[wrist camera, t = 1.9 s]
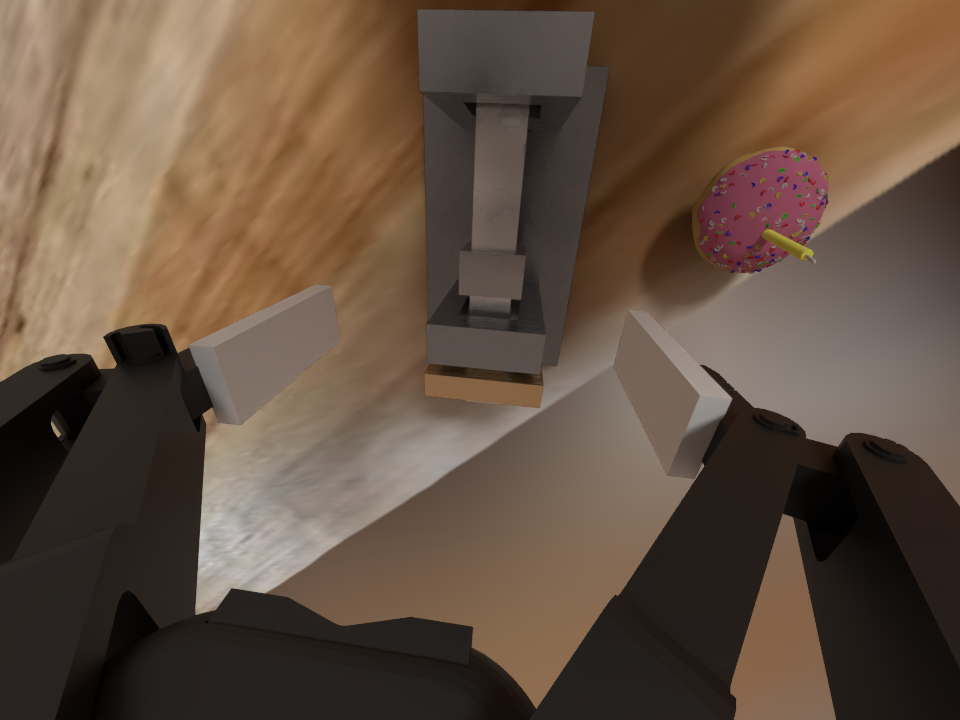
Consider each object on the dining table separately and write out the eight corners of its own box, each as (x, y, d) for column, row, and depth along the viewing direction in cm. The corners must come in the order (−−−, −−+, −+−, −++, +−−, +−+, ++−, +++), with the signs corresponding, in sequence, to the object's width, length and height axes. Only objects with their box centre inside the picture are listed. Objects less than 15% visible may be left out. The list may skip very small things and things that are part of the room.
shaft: (475, 47, 21) (464, 17, 17) (546, 49, 21) (551, 18, 17) (464, 378, 32) (456, 404, 28) (510, 383, 32) (508, 410, 28)
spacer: (448, 329, 34) (424, 373, 26) (539, 337, 33) (543, 386, 25) (448, 347, 35) (425, 395, 27) (536, 355, 34) (539, 408, 26)
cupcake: (752, 265, 31) (869, 307, 21) (657, 255, 32) (723, 291, 21) (802, 156, 27) (979, 139, 16) (692, 147, 28) (795, 125, 17)
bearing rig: (427, 67, 27) (351, -22, 15) (605, 72, 26) (672, -20, 14) (432, 347, 39) (391, 420, 27) (555, 359, 38) (569, 440, 26)
